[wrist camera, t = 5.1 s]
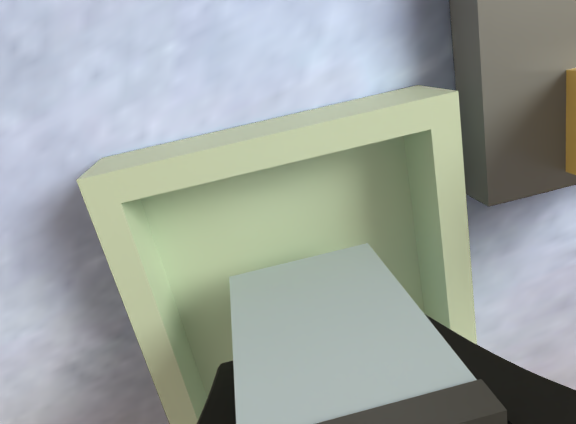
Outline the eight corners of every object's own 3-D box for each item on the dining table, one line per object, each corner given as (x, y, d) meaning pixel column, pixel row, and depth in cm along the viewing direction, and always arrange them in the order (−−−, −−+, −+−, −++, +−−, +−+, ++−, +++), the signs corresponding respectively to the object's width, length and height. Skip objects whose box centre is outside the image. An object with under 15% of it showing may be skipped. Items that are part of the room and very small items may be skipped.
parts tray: (448, 386, 18) (483, 436, 16) (206, 454, 17) (204, 517, 15) (417, 85, 14) (458, 91, 12) (101, 157, 13) (76, 179, 11)
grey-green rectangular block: (386, 358, 14) (513, 587, 8) (258, 392, 14) (290, 655, 8) (368, 240, 13) (506, 409, 7) (226, 275, 13) (235, 485, 6)
